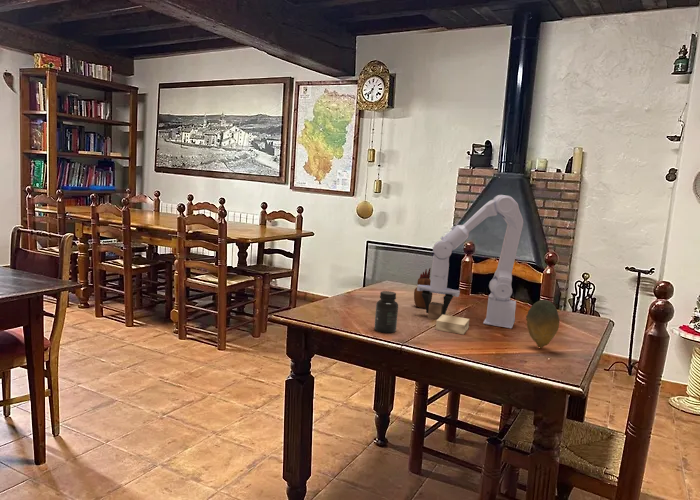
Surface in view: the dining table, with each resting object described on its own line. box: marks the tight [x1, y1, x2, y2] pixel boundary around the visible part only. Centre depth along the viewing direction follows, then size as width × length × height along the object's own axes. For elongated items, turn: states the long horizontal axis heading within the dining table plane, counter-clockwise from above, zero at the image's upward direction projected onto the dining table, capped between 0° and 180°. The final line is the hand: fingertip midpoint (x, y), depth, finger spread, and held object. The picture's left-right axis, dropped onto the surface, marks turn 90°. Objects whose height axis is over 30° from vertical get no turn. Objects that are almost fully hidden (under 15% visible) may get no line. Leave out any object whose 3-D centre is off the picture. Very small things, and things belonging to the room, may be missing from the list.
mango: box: [525, 299, 560, 349], centre depth 156 cm, size 10×6×15 cm, turn 48°
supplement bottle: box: [373, 290, 399, 334], centre depth 164 cm, size 7×7×12 cm
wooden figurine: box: [413, 267, 433, 309], centre depth 197 cm, size 7×6×15 cm
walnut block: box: [427, 301, 444, 320], centre depth 183 cm, size 4×4×5 cm
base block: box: [435, 314, 470, 335], centre depth 171 cm, size 9×9×3 cm
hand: (435, 313), depth 184 cm, fingers open, 5 cm apart
